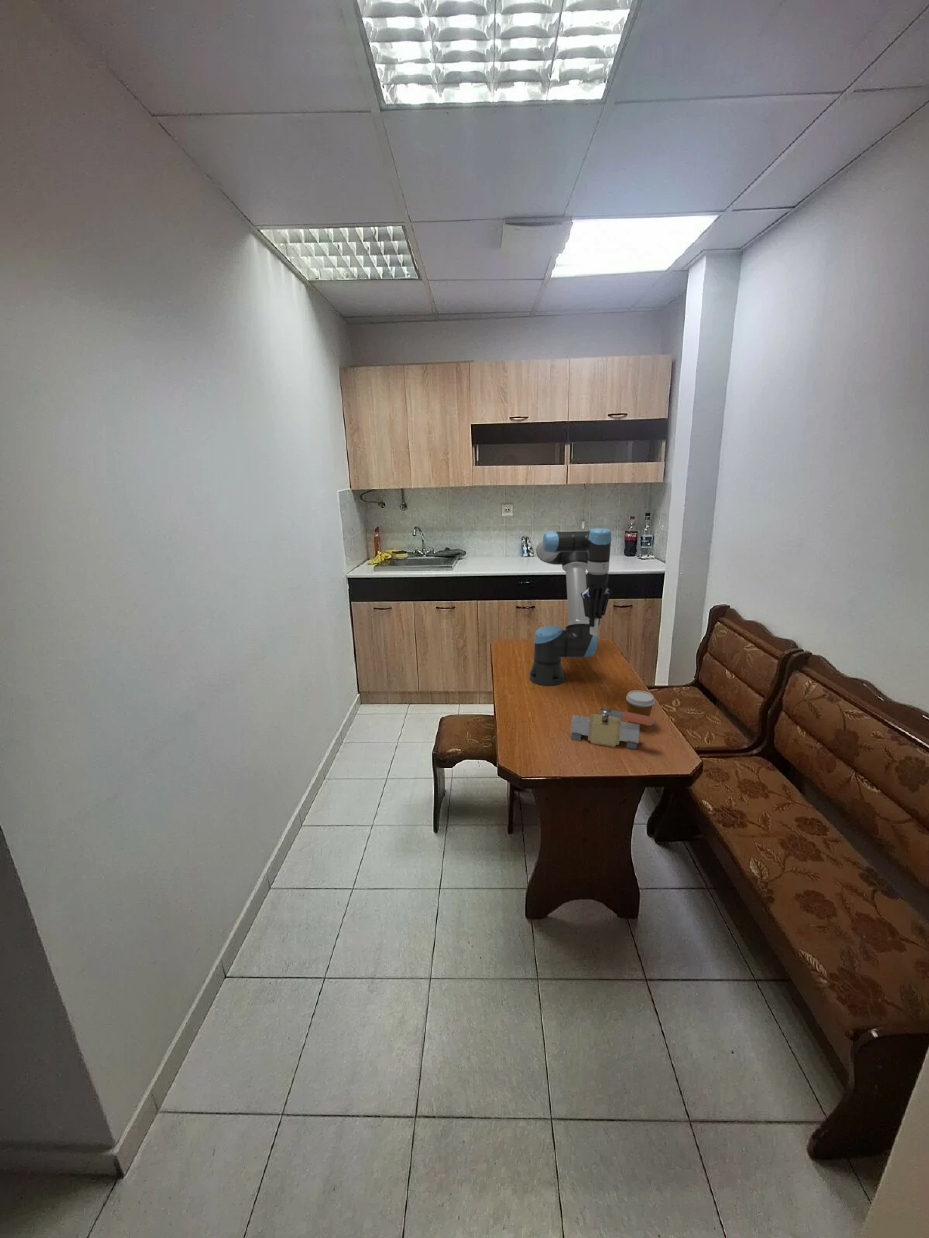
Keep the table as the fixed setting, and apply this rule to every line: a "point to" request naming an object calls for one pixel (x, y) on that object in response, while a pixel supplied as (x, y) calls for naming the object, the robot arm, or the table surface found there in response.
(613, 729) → the bar with tan sleeve
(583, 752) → the table surface
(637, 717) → the lever
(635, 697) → the disposable coffee cup
